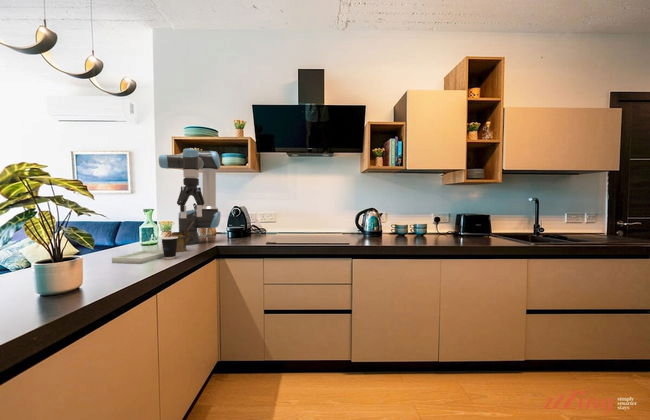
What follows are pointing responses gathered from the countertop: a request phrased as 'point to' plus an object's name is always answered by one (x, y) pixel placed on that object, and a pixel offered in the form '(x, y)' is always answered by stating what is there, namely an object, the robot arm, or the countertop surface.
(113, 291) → the countertop surface
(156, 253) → the sage tray
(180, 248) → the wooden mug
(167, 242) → the dixie cup
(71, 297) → the countertop surface
